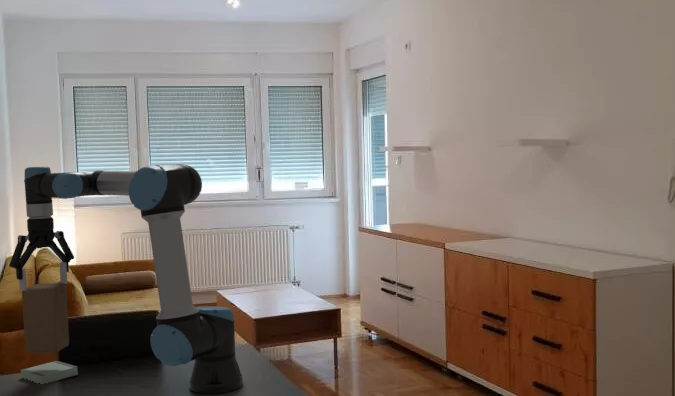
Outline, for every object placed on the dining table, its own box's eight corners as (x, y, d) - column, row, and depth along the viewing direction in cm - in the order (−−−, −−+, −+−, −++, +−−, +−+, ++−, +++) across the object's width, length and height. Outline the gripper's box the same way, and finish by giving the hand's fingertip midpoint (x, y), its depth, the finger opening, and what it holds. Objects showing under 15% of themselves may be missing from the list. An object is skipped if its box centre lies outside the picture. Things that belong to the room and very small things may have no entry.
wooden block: (70, 345, 240) (67, 282, 238) (55, 354, 230) (52, 288, 229) (40, 345, 241) (36, 283, 240) (24, 354, 231) (20, 288, 230)
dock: (77, 374, 237) (77, 366, 237) (41, 384, 227) (41, 376, 227) (56, 368, 244) (56, 360, 244) (21, 378, 235) (20, 369, 235)
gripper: (70, 213, 245) (73, 279, 246) (-6, 220, 226) (-2, 292, 227) (83, 214, 240) (86, 281, 241) (6, 221, 221) (11, 294, 222)
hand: (44, 286), depth 234 cm, fingers closed on wooden block, 13 cm apart
